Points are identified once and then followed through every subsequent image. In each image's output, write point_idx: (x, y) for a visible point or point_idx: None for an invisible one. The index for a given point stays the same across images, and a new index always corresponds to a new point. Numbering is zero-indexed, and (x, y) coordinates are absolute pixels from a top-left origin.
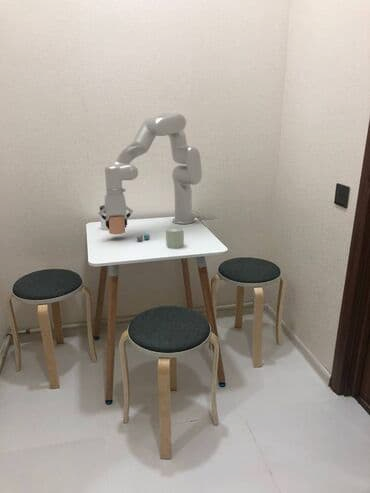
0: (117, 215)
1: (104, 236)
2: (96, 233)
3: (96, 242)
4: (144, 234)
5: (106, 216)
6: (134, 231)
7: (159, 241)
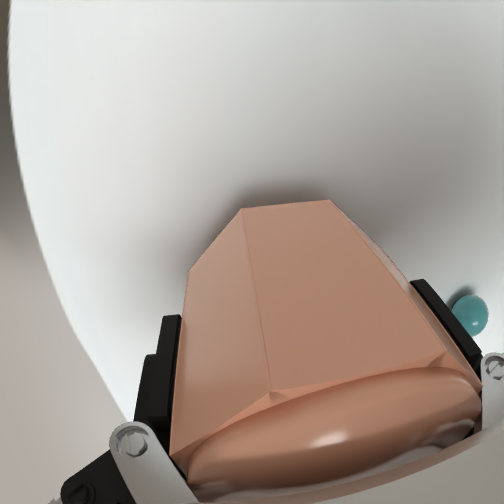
0: (395, 445)
1: (135, 148)
2: (50, 31)
3: (99, 312)
4: (469, 328)
5: (146, 490)
6: (456, 61)
7: (484, 334)
